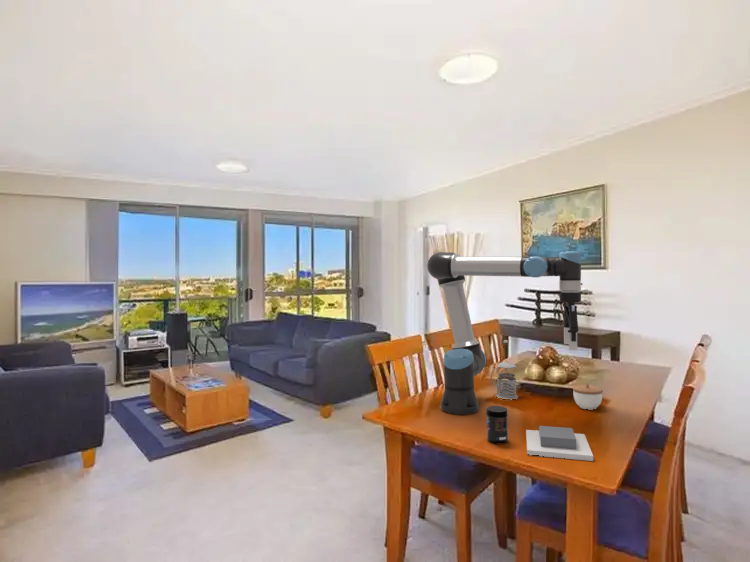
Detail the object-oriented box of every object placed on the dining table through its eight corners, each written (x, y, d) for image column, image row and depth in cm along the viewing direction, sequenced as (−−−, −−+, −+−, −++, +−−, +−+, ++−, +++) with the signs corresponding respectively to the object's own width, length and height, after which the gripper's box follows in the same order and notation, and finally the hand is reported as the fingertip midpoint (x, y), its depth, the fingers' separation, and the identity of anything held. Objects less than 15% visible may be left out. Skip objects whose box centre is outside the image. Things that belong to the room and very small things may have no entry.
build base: (527, 455, 135) (527, 440, 135) (526, 434, 152) (525, 420, 152) (593, 461, 129) (593, 445, 129) (584, 438, 146) (584, 424, 146)
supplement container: (499, 435, 151) (498, 404, 151) (512, 442, 145) (512, 410, 145) (482, 438, 149) (482, 407, 148) (495, 445, 142) (495, 413, 142)
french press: (518, 400, 191) (517, 342, 190) (490, 399, 194) (489, 341, 194) (518, 394, 200) (517, 338, 199) (492, 393, 204) (490, 338, 203)
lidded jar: (606, 412, 173) (606, 387, 172) (576, 411, 175) (576, 387, 175) (598, 404, 183) (598, 381, 183) (570, 403, 185) (570, 380, 185)
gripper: (587, 293, 159) (587, 353, 159) (575, 290, 183) (575, 342, 183) (564, 293, 161) (564, 352, 161) (555, 290, 185) (556, 341, 185)
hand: (570, 347), depth 172 cm, fingers open, 13 cm apart
